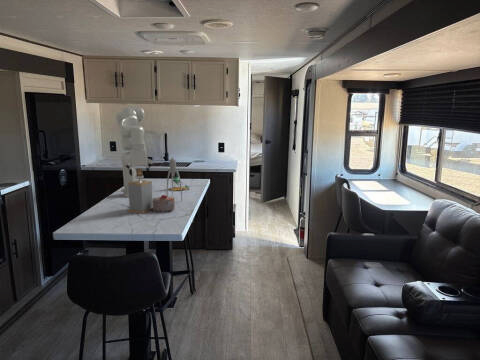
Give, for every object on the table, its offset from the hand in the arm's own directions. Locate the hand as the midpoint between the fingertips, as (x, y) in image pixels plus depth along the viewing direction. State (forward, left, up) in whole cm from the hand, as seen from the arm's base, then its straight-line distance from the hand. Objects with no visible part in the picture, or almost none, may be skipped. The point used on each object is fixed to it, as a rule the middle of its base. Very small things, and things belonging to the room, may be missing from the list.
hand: (139, 174), depth 221 cm
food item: (+13, +5, -23) cm, 27 cm away
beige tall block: (0, 0, -22) cm, 22 cm away
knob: (0, 0, -21) cm, 21 cm away
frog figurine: (-10, +57, -23) cm, 62 cm away
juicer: (+7, +28, -23) cm, 37 cm away
